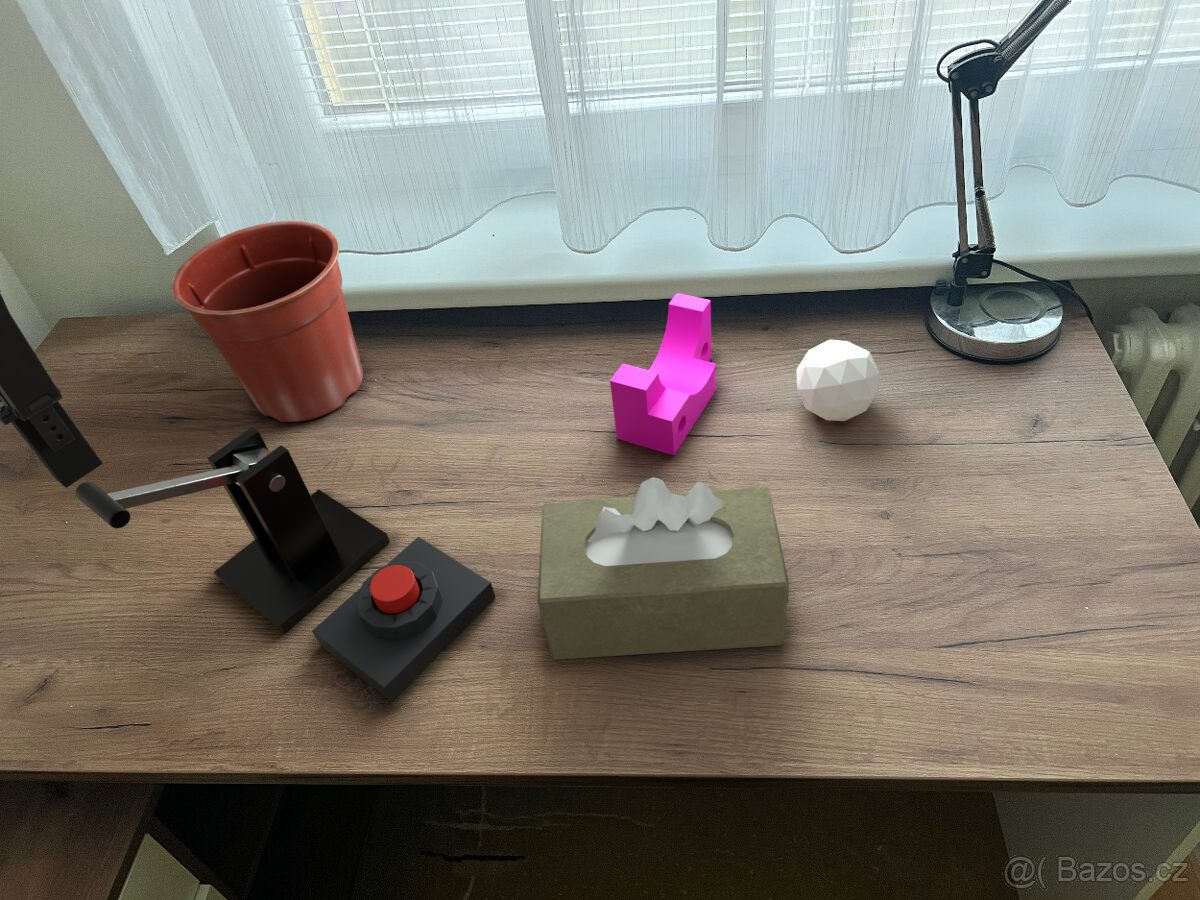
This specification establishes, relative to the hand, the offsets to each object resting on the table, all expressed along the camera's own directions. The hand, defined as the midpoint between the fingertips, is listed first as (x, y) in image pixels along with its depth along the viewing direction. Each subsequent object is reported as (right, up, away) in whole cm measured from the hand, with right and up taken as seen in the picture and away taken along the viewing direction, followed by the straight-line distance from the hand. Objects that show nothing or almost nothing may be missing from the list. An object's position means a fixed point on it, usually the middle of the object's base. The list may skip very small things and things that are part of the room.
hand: (79, 471), depth 59 cm
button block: (+19, -13, +14) cm, 27 cm away
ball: (+59, +5, +27) cm, 65 cm away
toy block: (+43, +6, +31) cm, 54 cm away
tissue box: (+41, -11, +13) cm, 44 cm away
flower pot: (+3, +8, +38) cm, 39 cm away
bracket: (+9, -9, +20) cm, 23 cm away
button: (+19, -10, +12) cm, 25 cm away
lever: (+4, -2, +8) cm, 9 cm away
